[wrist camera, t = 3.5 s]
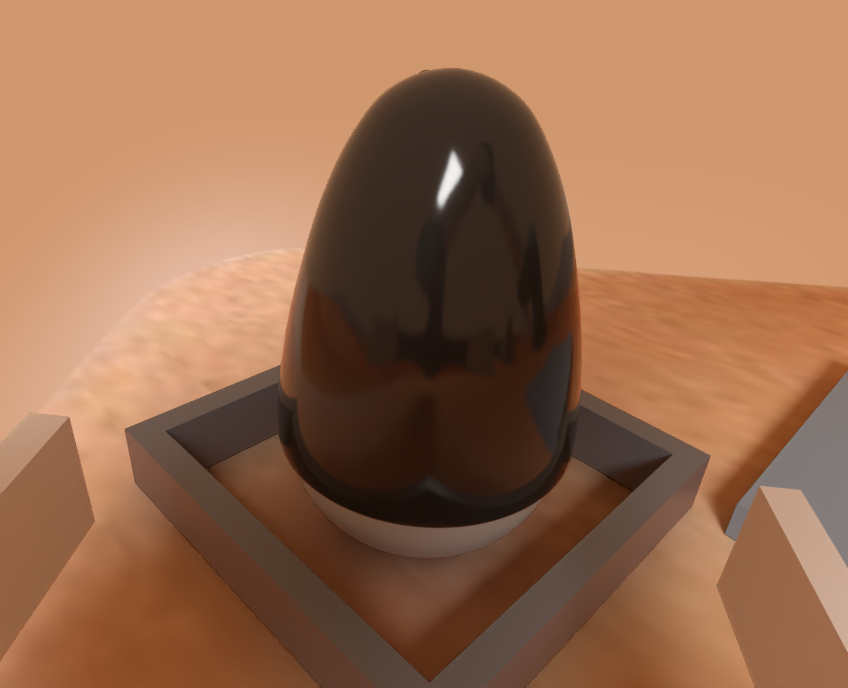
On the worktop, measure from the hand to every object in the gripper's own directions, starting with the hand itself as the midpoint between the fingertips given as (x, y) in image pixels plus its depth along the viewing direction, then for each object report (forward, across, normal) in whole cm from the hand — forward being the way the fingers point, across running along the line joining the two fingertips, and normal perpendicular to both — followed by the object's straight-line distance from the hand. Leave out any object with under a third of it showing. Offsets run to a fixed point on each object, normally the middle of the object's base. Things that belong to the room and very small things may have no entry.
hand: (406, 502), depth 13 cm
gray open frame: (+9, 0, -8) cm, 13 cm away
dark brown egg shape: (+9, 0, -9) cm, 13 cm away
